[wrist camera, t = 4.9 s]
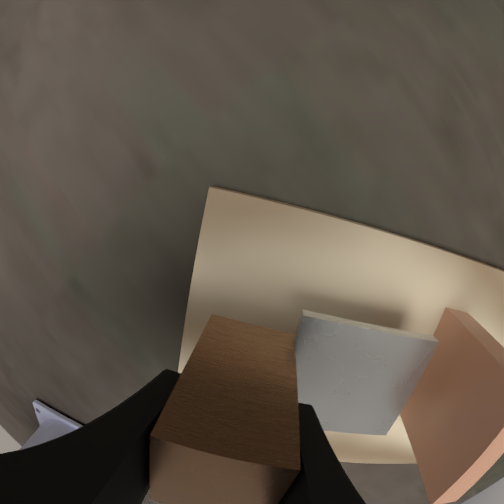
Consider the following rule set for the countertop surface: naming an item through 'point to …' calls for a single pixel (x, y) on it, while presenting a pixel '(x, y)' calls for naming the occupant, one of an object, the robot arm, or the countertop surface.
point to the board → (330, 285)
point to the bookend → (275, 403)
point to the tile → (457, 408)
